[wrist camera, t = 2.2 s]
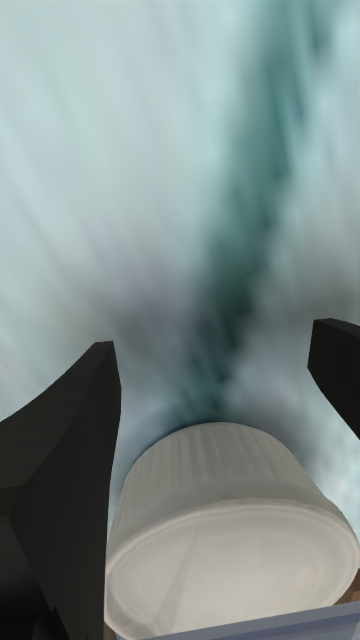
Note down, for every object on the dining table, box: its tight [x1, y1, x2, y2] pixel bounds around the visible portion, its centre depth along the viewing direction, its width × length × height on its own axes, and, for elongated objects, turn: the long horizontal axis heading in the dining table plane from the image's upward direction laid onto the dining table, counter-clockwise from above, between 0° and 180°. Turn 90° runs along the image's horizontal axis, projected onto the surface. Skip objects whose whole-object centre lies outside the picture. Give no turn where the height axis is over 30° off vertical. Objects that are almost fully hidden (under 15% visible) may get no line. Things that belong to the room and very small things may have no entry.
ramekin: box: [104, 422, 360, 640], centre depth 15 cm, size 11×11×5 cm
